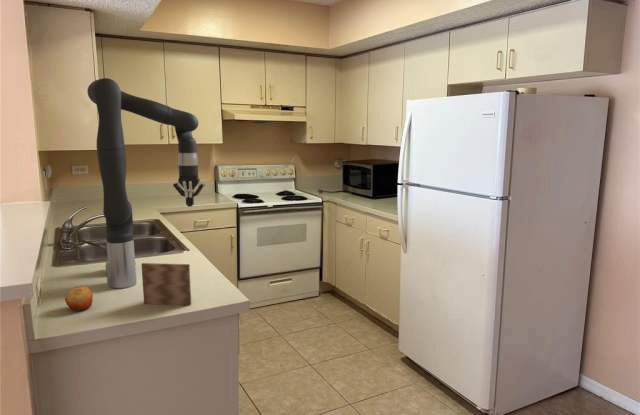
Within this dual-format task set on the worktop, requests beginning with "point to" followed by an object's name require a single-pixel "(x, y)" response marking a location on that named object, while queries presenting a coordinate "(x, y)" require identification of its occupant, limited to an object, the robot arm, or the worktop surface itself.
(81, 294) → the fruit
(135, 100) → the robot arm
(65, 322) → the worktop surface
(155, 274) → the brown wooden block
